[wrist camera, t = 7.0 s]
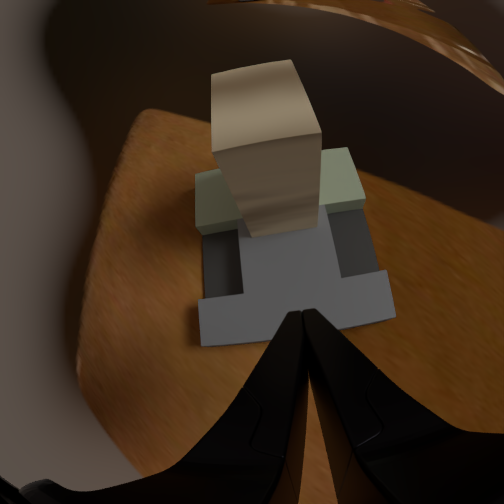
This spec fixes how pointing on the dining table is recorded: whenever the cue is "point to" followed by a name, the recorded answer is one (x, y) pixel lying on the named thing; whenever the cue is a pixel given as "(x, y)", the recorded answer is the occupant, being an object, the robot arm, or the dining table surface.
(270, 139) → the maple block
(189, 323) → the dining table surface
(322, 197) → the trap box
